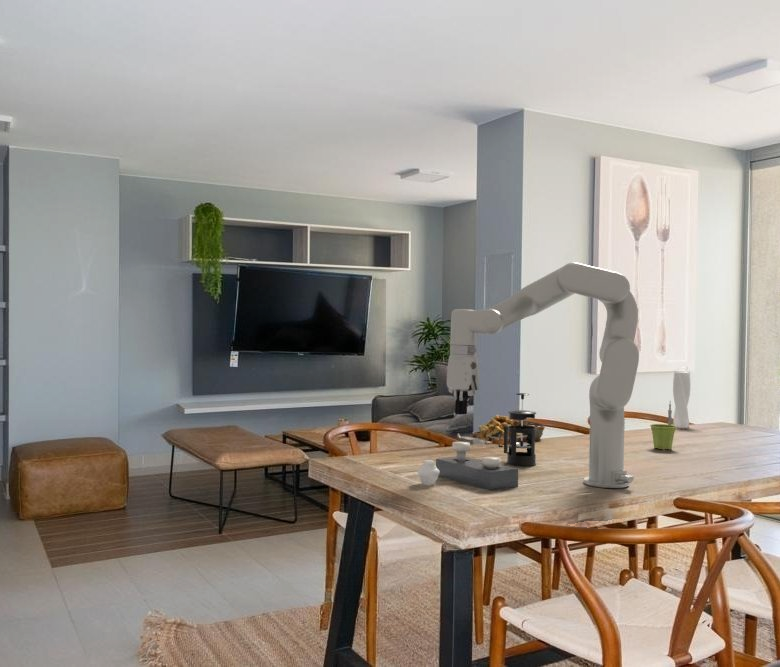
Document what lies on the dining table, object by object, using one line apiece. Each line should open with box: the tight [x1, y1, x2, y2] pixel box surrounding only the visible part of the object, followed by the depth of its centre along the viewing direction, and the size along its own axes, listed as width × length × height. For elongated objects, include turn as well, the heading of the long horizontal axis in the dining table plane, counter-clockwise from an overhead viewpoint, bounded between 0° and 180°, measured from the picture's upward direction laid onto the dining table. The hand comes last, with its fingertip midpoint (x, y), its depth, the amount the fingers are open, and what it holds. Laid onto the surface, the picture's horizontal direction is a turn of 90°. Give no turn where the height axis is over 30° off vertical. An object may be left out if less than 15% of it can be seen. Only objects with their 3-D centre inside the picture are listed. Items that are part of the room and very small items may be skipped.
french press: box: [503, 392, 537, 468], centre depth 249 cm, size 12×9×23 cm
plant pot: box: [649, 423, 677, 450], centre depth 286 cm, size 9×9×9 cm
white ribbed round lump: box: [417, 459, 440, 487], centre depth 214 cm, size 6×6×7 cm
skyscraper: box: [667, 366, 691, 429], centre depth 346 cm, size 8×8×28 cm
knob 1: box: [451, 441, 471, 462], centre depth 226 cm, size 5×5×6 cm
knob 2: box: [481, 456, 502, 469], centre depth 215 cm, size 5×5×6 cm
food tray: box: [456, 414, 546, 448], centre depth 301 cm, size 35×26×11 cm
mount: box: [435, 456, 519, 492], centre depth 220 cm, size 24×10×5 cm, turn 35°
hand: (460, 413), depth 225 cm, fingers closed
